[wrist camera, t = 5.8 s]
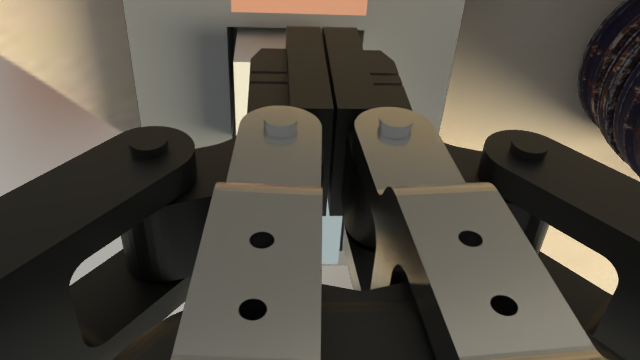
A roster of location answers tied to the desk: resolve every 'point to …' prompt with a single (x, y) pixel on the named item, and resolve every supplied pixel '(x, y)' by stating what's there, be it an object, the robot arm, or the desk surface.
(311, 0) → the orange block
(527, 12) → the desk surface
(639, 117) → the storage jar
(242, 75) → the white key
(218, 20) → the key console
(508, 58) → the desk surface
